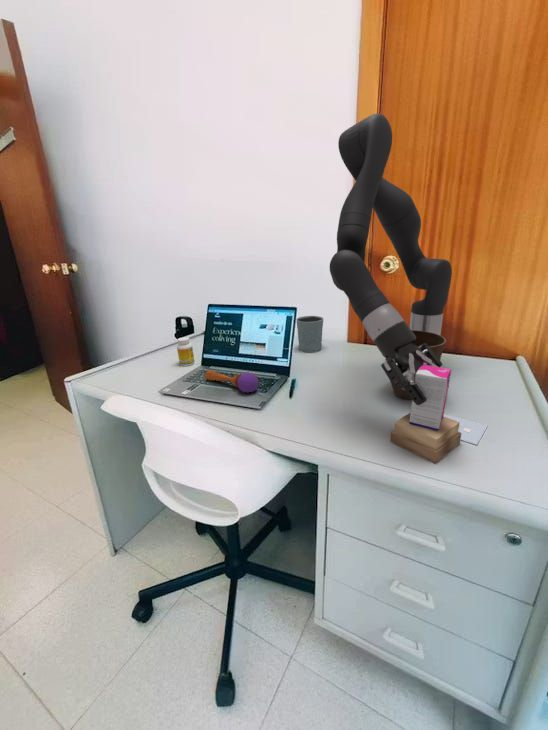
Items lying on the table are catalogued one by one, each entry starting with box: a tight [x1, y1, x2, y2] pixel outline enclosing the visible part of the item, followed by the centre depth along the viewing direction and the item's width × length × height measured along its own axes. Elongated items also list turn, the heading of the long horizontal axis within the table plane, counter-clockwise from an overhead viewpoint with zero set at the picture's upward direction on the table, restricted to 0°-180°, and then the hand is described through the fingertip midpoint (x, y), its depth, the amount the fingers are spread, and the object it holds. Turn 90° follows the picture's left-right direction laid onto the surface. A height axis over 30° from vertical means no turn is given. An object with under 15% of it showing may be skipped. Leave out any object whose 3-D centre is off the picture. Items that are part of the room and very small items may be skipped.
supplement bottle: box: [176, 336, 195, 367], centre depth 124 cm, size 5×5×10 cm
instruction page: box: [444, 413, 488, 446], centre depth 78 cm, size 9×12×1 cm
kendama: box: [204, 369, 259, 394], centre depth 105 cm, size 6×6×20 cm
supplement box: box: [409, 365, 452, 431], centre depth 70 cm, size 6×6×12 cm
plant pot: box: [384, 330, 447, 400], centre depth 92 cm, size 15×15×16 cm
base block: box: [389, 411, 461, 464], centre depth 72 cm, size 10×10×5 cm
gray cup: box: [295, 315, 324, 354], centre depth 132 cm, size 10×10×12 cm
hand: (434, 396), depth 69 cm, fingers open, 8 cm apart
